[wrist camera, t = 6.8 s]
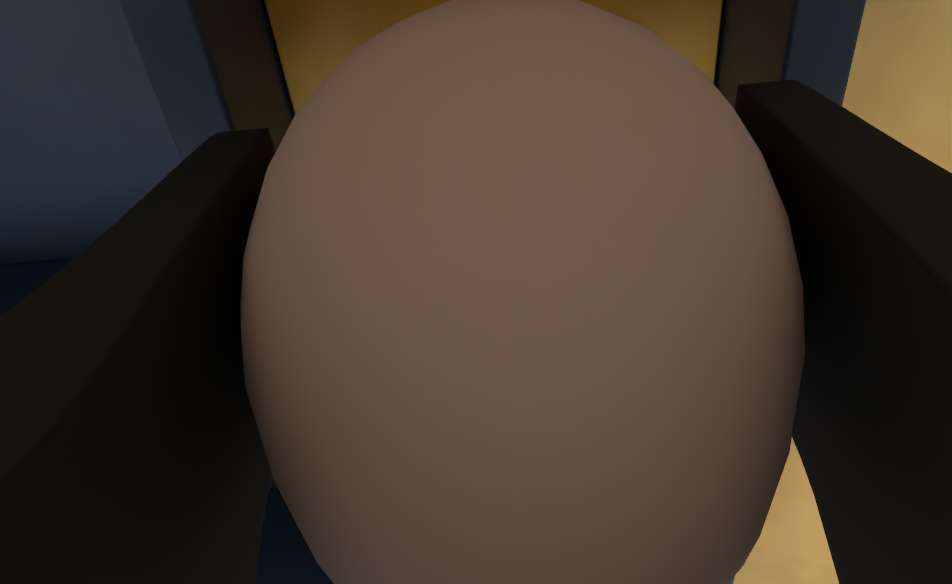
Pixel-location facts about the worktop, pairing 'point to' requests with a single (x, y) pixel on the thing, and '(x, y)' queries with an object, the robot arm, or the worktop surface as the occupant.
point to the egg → (522, 308)
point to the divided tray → (270, 111)
